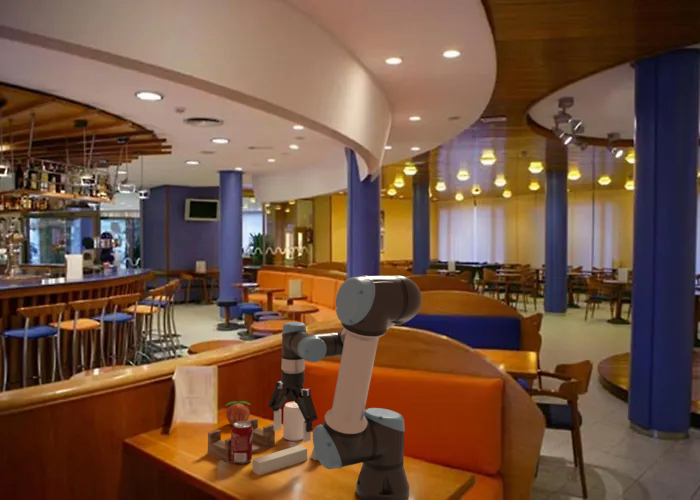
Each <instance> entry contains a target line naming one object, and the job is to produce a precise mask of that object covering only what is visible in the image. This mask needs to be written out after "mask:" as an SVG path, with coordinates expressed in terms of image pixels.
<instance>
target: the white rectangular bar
mask: <svg viewBox="0 0 700 500" xmlns="http://www.w3.org/2000/svg"><path fill="white" fill-rule="evenodd" d="M306 461H308V448H307V447H305V446H303V445H300V444H299V445H295V446H292V447H288V448H285V449H282V450H279V451H275V452H272V453H269V454H265V455H264V454H263V455H261V456H257V457H255V458H252V468H251V469H252V470H251V471H252V472H253V471H254V472H253V473H255V474H256V475H258V474H259V475H258V476H261V474H262V475H264V473H265V474H268V473H271V472H273V470H274V471H276V470H281V469H283V468H287V467H290V466H292V465H293V466H294V465H297V464H299V463H302V462H306ZM280 468H281V469H280ZM270 471H271V472H270ZM267 472H268V473H267Z"/></svg>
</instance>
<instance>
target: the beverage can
mask: <svg viewBox="0 0 700 500" xmlns="http://www.w3.org/2000/svg"><path fill="white" fill-rule="evenodd" d="M282 420H283V421H282V423H283V427H282V428H283V429H282V437H283V439H285V440H287V441H290V442H291V441H292V442H297V441H301V440H303V422H304V421H305V419H304V417H303V415H302V413H301V411H300V409H299V407H298V405H297V403H295V401H289V402H286V403H284V407H283V419H282Z"/></svg>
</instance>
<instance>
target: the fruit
mask: <svg viewBox="0 0 700 500" xmlns="http://www.w3.org/2000/svg"><path fill="white" fill-rule="evenodd" d="M239 399H240V398H237V401H235V400H234V401H230V402H228V403H226V404H225V405H224V406H226V407H228V408H227V411H226V414H225V415H226V418H227V422H228V423H229V424H230V425H231V426H234V423H235V422H238V421H248V420H249V418H250V409H249V406H250V405H252V404H251V403H249V401H244V400H241V401H240V400H239ZM248 405H249V406H248Z"/></svg>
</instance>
